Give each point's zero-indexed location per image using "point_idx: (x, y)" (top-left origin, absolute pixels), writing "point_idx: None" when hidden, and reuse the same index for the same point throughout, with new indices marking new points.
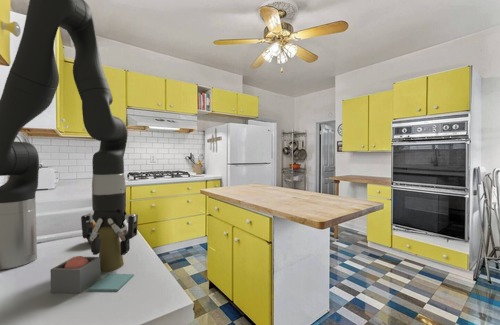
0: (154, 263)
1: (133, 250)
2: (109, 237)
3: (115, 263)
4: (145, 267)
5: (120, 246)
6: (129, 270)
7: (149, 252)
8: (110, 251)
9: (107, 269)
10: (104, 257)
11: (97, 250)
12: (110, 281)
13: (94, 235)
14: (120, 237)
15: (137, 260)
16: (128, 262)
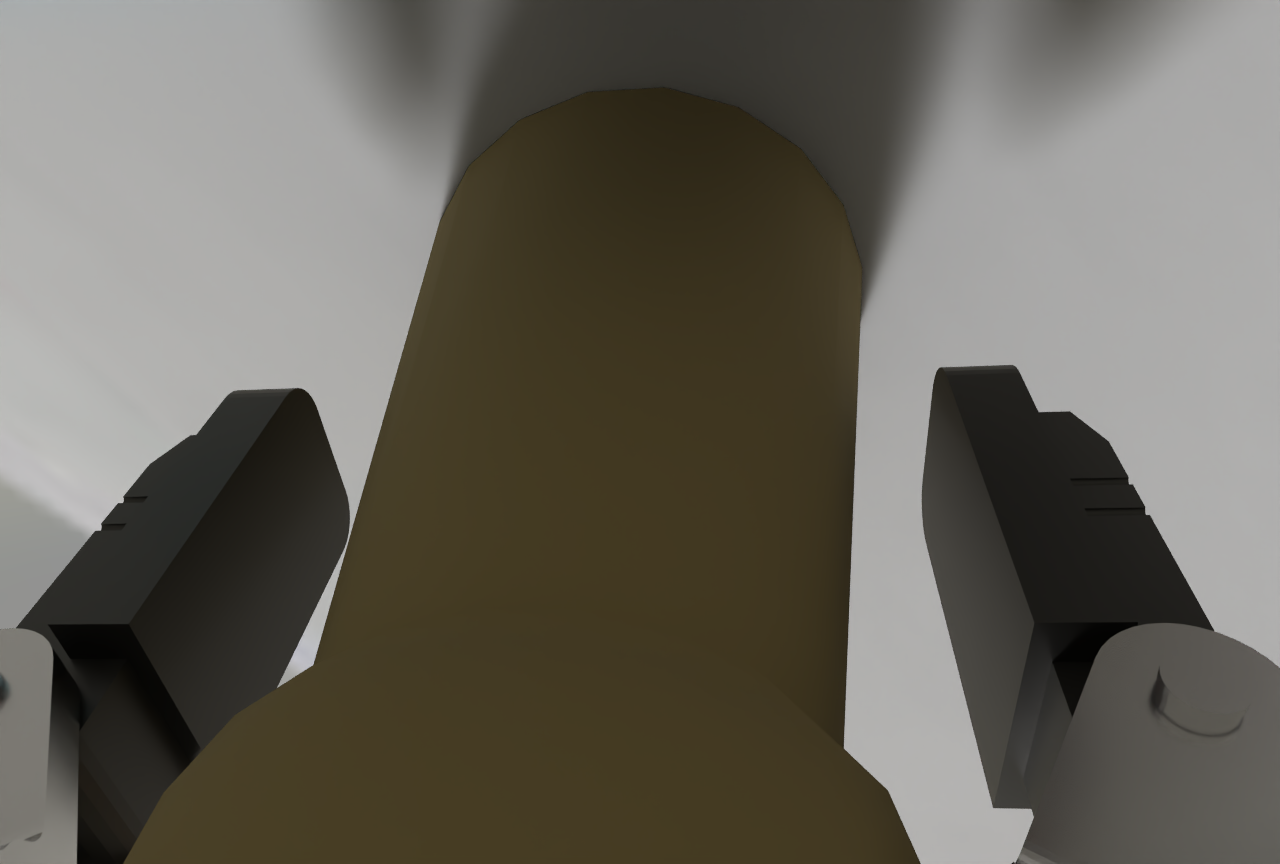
0: (5, 434)
1: None
2: (290, 684)
3: (438, 256)
4: (13, 307)
5: (205, 515)
6: (178, 186)
7: None
8: (438, 364)
9: (547, 126)
10: (591, 243)
11: (945, 473)
12: None
13: (1110, 820)
14: (18, 734)
15: (354, 507)
16: None
